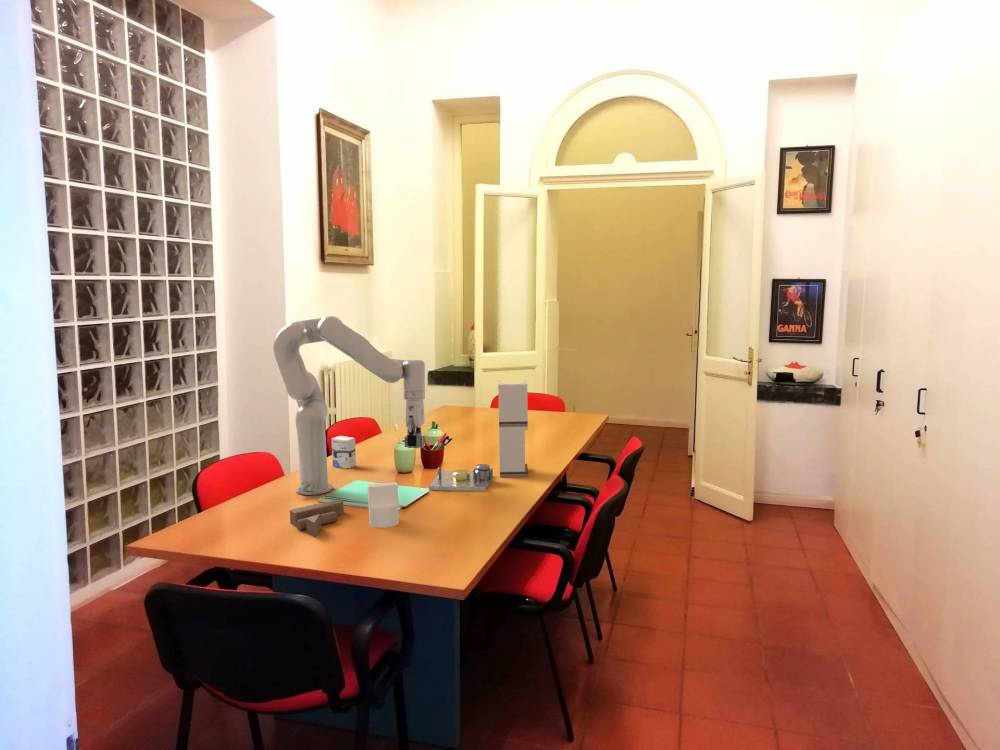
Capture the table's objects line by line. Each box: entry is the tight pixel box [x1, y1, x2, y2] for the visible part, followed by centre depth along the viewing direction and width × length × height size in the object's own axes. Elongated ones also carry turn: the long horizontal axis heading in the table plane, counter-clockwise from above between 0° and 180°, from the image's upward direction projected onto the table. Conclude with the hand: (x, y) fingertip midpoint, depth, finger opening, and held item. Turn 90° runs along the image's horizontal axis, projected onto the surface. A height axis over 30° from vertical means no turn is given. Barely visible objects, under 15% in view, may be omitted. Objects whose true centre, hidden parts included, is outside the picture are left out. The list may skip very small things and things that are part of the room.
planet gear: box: [403, 430, 425, 449], centre depth 249 cm, size 7×7×5 cm
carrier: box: [428, 463, 494, 492], centre depth 254 cm, size 20×22×6 cm
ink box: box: [331, 435, 357, 469], centre depth 279 cm, size 8×5×12 cm, turn 62°
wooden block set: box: [289, 498, 345, 538], centre depth 212 cm, size 17×6×18 cm
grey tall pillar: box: [497, 379, 529, 478], centre depth 264 cm, size 11×11×35 cm
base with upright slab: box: [367, 481, 400, 529], centre depth 212 cm, size 9×9×12 cm
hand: (414, 443), depth 250 cm, fingers closed on planet gear, 7 cm apart
